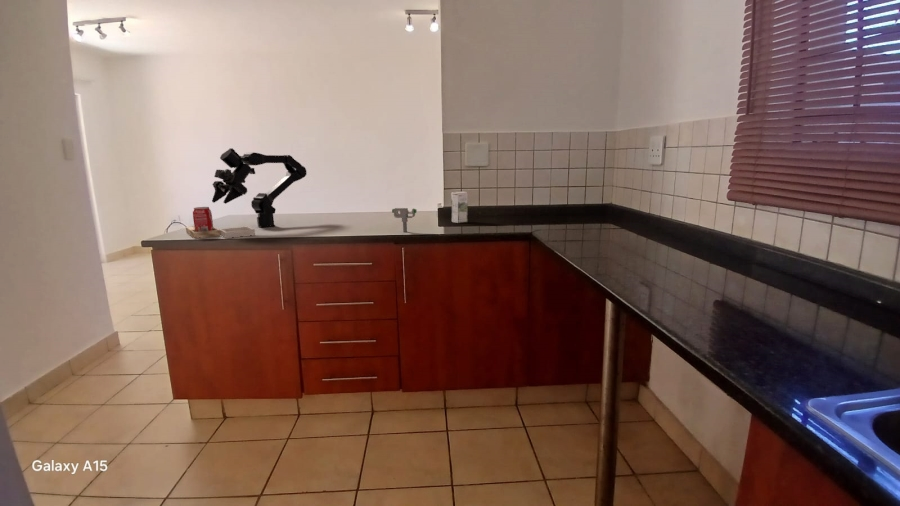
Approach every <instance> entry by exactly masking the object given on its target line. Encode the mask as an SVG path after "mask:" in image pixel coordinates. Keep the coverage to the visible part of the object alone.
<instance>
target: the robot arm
mask: <svg viewBox="0 0 900 506" xmlns="http://www.w3.org/2000/svg"><path fill="white" fill-rule="evenodd" d="M219 159H220V160H221V161H222V162H223V163H224V164H225V165H226V166H228V167H229V168H231V169H232V168H234V170H233V171H232V170H231V169H229V168H226V169H216V170H215V173H214V178H218V179H221V180H215V181H213V183H212V186H213V188H214V194H213V197H212V200H211V201H212V203H214V204H215V203H217V202H218V201H219V200H221V199H222V198H224V197H225V196H226V197H225V198H224V200H223V204H228V203H230V202H231V201H233V200H235V199H238V198H240V197H242V196H244V195H245V196H246V194H247V193H248V188H247V187H246V186H245V185H244V184H245V183H246V178H247V177H248V176H249V175H256V171H255V168H254V167H251V166H260V165H264V164H283V165H284V168H285V169H286V170H287V171H286V175H284V177H283V178H281V179H280V180H279V181H278V182H276V184H275V185H273V186H272V187H271V188H270V189H269V190H268V191H267V192H258V193H257V194H256V195H255V196H254V197H253V198H252V200H251V204H250V205H251V208H252V209H253V210H254V212H255V214H257V217H256V223H257V227H259V228H269V227H276V224H275V221H274V220H275V219H274V214H275V213H276V208H275V207H274V206H273V203H274V201H275V200H276V199H277V198H278V197H279V196H280V195H281V194H282V193H283V192H285V190H287V189H288V188H289V187H290V186H291V185H292V184H294V183H295V182H298V181H300V180H302V179H303V178H305V177H306V176H307V168H306V167H305V166H304V165H302V164H301V163H300V162H298V161H297V160H296V159H294V157H293V156H292V155H290V154H286V155H285V154H283V155H280V154H279V155H275V154H274V155H272V154H270V155H269V154H262V153H258V152H245V153H243V155H239V154H238V152H236V150H235V149H234V148H230V147H229V149H227V150H226V151H224V152H223V153H222V154H221V155H220V157H219Z"/></svg>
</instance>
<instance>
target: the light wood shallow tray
mask: <svg viewBox="0 0 900 506" xmlns="http://www.w3.org/2000/svg"><path fill="white" fill-rule="evenodd" d="M213 228H214V230H212V231H202V232H195V227H194V226H186V227H185V230H186V234H187V235H189V234H190V235H191V236H190V235H189V236H190V237H192V238H193V239H194V238H195V239H200V238H199V237H204V238H210V237H209V236H214V237H220V232H219V228H217V227H215V226H213Z"/></svg>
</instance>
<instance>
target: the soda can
mask: <svg viewBox="0 0 900 506" xmlns="http://www.w3.org/2000/svg"><path fill="white" fill-rule="evenodd" d="M212 213H213V212H212V210H211V209H210V207H209V206H196V207H193V211H192V220H193V227H195V232H202V231H212V230H214V228H213V227H214V221H213V220H214V219H213V214H212Z"/></svg>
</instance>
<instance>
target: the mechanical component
mask: <svg viewBox="0 0 900 506" xmlns="http://www.w3.org/2000/svg"><path fill="white" fill-rule="evenodd" d="M417 210H418V209H416V208H411V212H410V211H409V210H408V208H407V207H406V208H405V207H402V208H401V207H395V208H392V209H391V212H392V213H393V217H394V218H395V219H396V218H397V219H401V222H402V229H403V231H402V232H403V233H407V232H408V226H407V225H408V219H412V218H414V217H416V213H417ZM409 215H411V216H409Z"/></svg>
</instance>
